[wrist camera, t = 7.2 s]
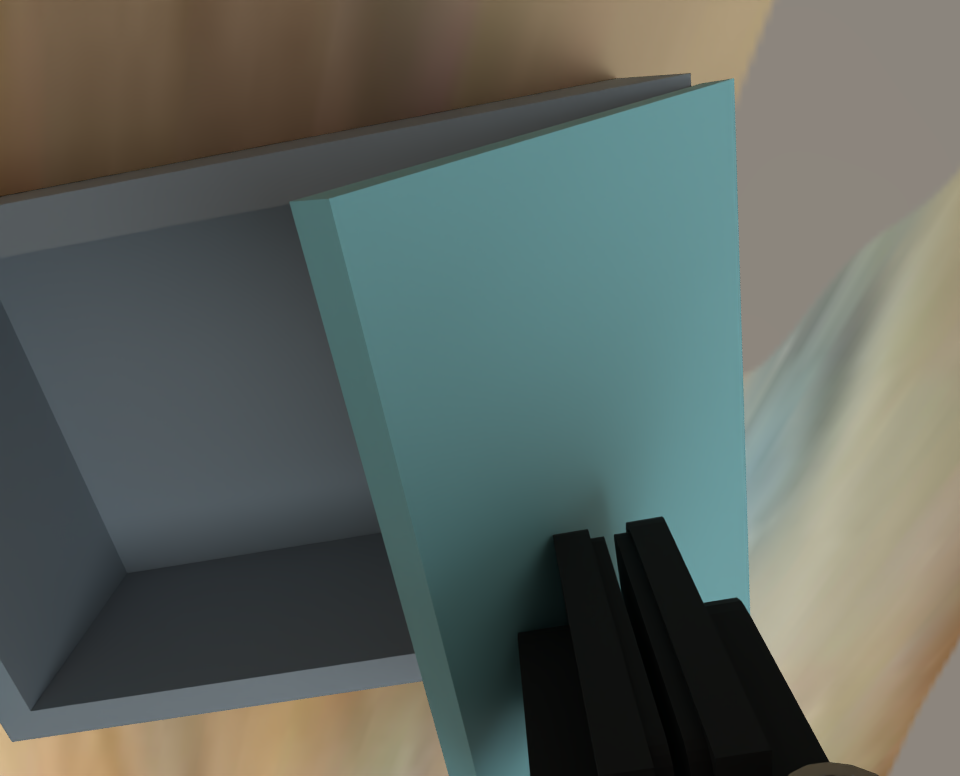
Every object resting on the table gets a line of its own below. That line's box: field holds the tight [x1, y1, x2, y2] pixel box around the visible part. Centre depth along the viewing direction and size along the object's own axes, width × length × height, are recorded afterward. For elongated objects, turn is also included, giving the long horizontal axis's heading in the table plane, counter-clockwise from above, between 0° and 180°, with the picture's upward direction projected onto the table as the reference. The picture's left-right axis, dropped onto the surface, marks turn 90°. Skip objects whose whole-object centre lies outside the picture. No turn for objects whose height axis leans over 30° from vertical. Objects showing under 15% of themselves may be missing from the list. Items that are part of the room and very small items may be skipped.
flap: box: [289, 79, 750, 776], centre depth 12 cm, size 14×10×1 cm
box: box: [0, 73, 691, 742], centre depth 20 cm, size 14×20×7 cm
